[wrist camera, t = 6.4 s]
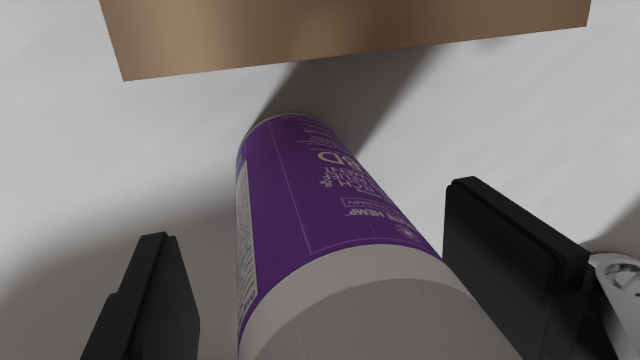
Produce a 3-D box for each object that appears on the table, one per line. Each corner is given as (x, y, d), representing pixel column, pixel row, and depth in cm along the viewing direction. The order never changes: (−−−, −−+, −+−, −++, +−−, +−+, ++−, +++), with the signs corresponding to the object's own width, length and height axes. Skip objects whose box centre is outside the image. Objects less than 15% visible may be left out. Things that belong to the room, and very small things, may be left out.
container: (344, 109, 16) (916, 595, 3) (339, 207, 18) (659, 785, 4) (231, 112, 15) (216, 891, 2) (239, 215, 17) (259, 974, 4)
